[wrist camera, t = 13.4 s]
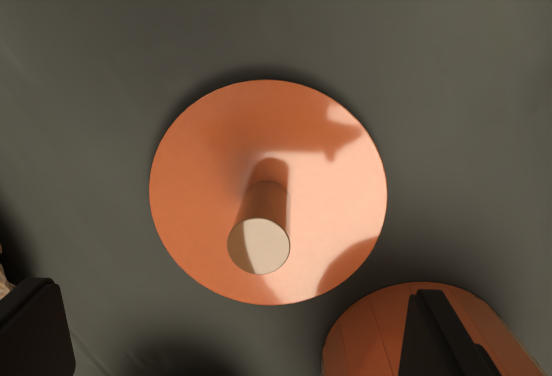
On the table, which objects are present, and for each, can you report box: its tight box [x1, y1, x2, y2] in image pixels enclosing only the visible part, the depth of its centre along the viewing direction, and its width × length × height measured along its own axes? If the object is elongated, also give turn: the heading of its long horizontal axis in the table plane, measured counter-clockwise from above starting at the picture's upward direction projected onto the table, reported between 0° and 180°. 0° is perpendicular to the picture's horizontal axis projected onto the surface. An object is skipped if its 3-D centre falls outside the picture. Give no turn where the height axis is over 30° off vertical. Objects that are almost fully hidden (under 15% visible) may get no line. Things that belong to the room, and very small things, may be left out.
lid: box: [149, 79, 388, 305], centre depth 20 cm, size 14×14×7 cm
